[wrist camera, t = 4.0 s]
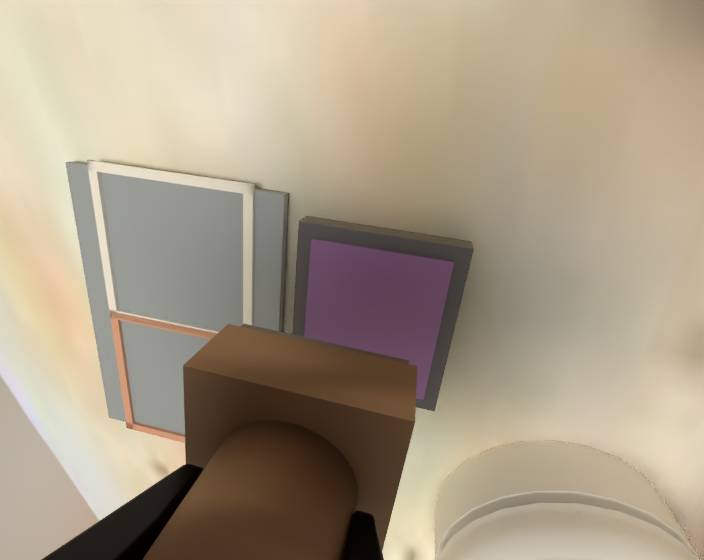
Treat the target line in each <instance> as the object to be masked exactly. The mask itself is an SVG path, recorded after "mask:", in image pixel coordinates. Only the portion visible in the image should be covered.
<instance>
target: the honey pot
mask: <svg viewBox="0 0 704 560" xmlns="http://www.w3.org/2000/svg"><path fill="white" fill-rule="evenodd" d="M435 560H700V559H699V556H698V554H697V553H696V551H695V549H694V548H693V546H692V545H691V543H690V541H689V540H688V538H687V537H686V535H685V533H684V532H683V530H682V529H681V527H680V525H679V524H678V522H677V521H676V519H675V517H674V516H673V514H672V513H671V511H670V510H669V508H668V506H667V505H666V503H665V502H664V500H663V498H662V497H661V495H660V494H659V493H658V492H657V490H656V489H655V488H654V487H653V486H652V485H651V483H650V482H649V481H648V480H647V479H646V477H645V476H644V475H643V474H641V473H640V472H638V471H637V470H635V469H634V468H632V467H631V466H629V465H628V464H626V463H625V462H623V461H622V460H621V459H619V458H617V457H614V456H612V455H609V454H607V453H604V452H601V451H599V450H596V449H594V448H591V447H588V446H583V445H577V444H571V443H565V442H560V441H521V442H516V443H512V444H507V445H503V446H499V447H494V448H491V449H489V450H486V451H484V452H482V453H480V454H478V455H476V456H474V457H472V458H470V459H468V460H466V461H465V462H464V463H463V464H461V465H460V466H459V467H458V468H457V469H456V470H455V471H453V472H452V473H451V474H450V475H449V476H448V478H447V479H446V481H445V483H444V484H443V486H442V488H441V489H440V491H439V493H438V497H437V503H436V509H435Z"/></svg>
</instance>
